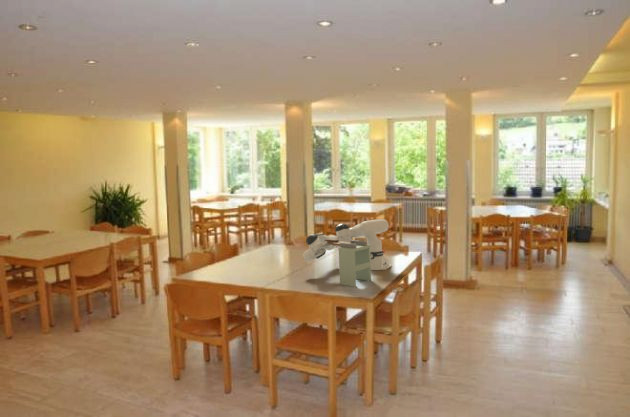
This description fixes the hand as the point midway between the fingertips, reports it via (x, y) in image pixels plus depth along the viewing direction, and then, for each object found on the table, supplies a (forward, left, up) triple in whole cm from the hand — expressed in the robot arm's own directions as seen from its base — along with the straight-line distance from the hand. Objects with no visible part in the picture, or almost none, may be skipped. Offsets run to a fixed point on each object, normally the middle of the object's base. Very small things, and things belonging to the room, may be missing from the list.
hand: (331, 241), depth 372 cm
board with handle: (0, +5, -2) cm, 6 cm away
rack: (-1, +20, -28) cm, 35 cm away
